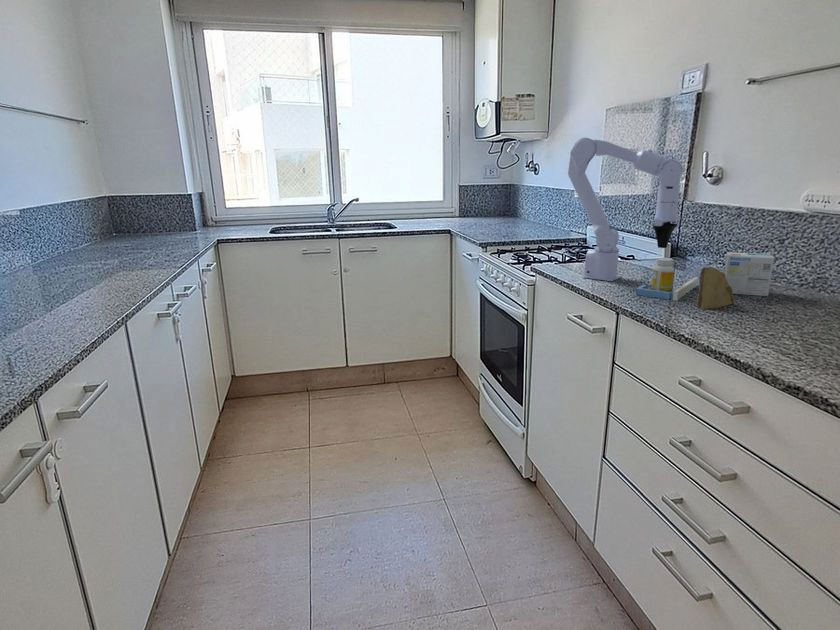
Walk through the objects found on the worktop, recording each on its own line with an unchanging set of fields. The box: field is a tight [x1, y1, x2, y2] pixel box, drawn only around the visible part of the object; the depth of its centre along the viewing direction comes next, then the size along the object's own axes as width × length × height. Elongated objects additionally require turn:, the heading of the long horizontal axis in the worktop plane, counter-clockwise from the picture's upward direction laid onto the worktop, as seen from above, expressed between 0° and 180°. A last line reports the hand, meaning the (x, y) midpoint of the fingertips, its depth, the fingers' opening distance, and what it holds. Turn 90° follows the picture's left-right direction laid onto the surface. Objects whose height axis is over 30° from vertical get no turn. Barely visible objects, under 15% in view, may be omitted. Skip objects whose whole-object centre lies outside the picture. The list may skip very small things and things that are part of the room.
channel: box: [635, 276, 699, 302], centre depth 145 cm, size 11×21×2 cm, turn 139°
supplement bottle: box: [650, 257, 675, 293], centre depth 142 cm, size 5×5×10 cm
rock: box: [696, 267, 736, 310], centre depth 128 cm, size 11×9×10 cm
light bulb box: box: [723, 251, 775, 297], centre depth 140 cm, size 11×7×11 cm, turn 65°
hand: (662, 247), depth 154 cm, fingers closed
